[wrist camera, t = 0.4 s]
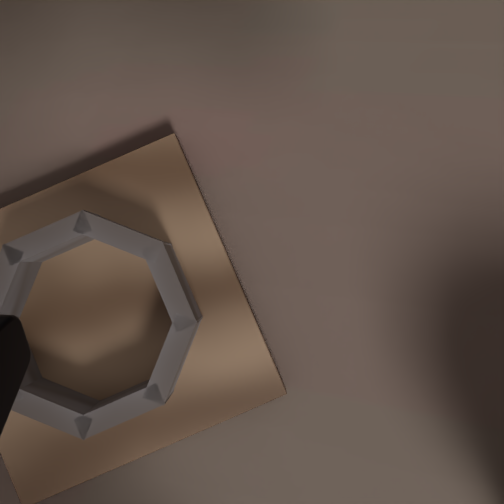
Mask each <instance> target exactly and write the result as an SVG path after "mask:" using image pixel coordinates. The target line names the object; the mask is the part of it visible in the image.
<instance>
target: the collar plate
mask: <svg viewBox="0 0 504 504" xmlns="http://www.w3.org/2000/svg"><path fill="white" fill-rule="evenodd" d="M0 314H5V315H15V316H17V317H18V318H19V319H20V320H21V323H22V325H23V328H24V331H25V334H26V337H27V340H28V343H29V346H30V350H31V359H30V363H29V366H28V369H27V371H26V374H25V376H24V379H23V381H22V384H21V386H20V389H19V391H18V394H17V396H16V399H15V401H14V404H13V406H12V409H11V411H10V414H9V416H8V419H7V421H6V424H5V426H4V429H3V432H2V434H1V436H0V453H1V455H2V458H3V460H4V463H5V465H6V468H7V470H8V473H9V475H10V478H11V480H12V483H13V485H14V488H15V490H16V493H17V495H18V498H19V500H20V503H21V504H35V503H37V502H39V501H42V500H44V499H46V498H49V497H51V496H53V495H55V494H58V493H60V492H62V491H65V490H67V489H69V488H72V487H74V486H76V485H78V484H81V483H83V482H85V481H88V480H90V479H92V478H95V477H97V476H99V475H101V474H104V473H106V472H108V471H111V470H113V469H115V468H118V467H120V466H122V465H124V464H127V463H129V462H131V461H134V460H136V459H138V458H141V457H143V456H145V455H147V454H150V453H152V452H154V451H157V450H159V449H161V448H164V447H166V446H168V445H170V444H173V443H175V442H177V441H180V440H182V439H184V438H187V437H189V436H191V435H193V434H196V433H198V432H200V431H203V430H205V429H207V428H210V427H212V426H214V425H216V424H219V423H221V422H223V421H226V420H228V419H230V418H233V417H235V416H237V415H239V414H242V413H244V412H246V411H249V410H251V409H253V408H256V407H258V406H260V405H262V404H265V403H267V402H269V401H272V400H274V399H276V398H279V397H281V396H283V395H285V394H287V392H286V388H285V386H284V383H283V381H282V379H281V376H280V374H279V372H278V369H277V367H276V365H275V362H274V360H273V358H272V356H271V353H270V351H269V349H268V346H267V344H266V342H265V339H264V337H263V335H262V332H261V330H260V328H259V325H258V323H257V321H256V319H255V316H254V314H253V312H252V309H251V307H250V305H249V302H248V300H247V298H246V295H245V293H244V291H243V288H242V286H241V284H240V282H239V279H238V277H237V275H236V272H235V270H234V268H233V265H232V263H231V261H230V258H229V256H228V254H227V251H226V249H225V247H224V245H223V242H222V240H221V238H220V235H219V233H218V231H217V228H216V226H215V224H214V221H213V219H212V217H211V214H210V212H209V210H208V208H207V205H206V203H205V201H204V198H203V196H202V194H201V191H200V189H199V187H198V184H197V182H196V180H195V177H194V175H193V173H192V171H191V168H190V166H189V164H188V161H187V159H186V157H185V154H184V152H183V150H182V147H181V145H180V143H179V141H178V138H177V137H176V135H175V134H174V133H173V134H171V135H169V136H166V137H164V138H162V139H159V140H157V141H155V142H152V143H150V144H148V145H146V146H143V147H141V148H139V149H136V150H134V151H132V152H129V153H127V154H125V155H123V156H120V157H118V158H116V159H113V160H111V161H109V162H106V163H104V164H102V165H100V166H97V167H95V168H93V169H90V170H88V171H86V172H83V173H81V174H79V175H77V176H74V177H72V178H70V179H67V180H65V181H63V182H60V183H58V184H56V185H54V186H51V187H49V188H47V189H44V190H42V191H40V192H37V193H35V194H33V195H31V196H28V197H26V198H24V199H21V200H19V201H17V202H15V203H12V204H10V205H8V206H5V207H3V208H1V209H0Z"/></svg>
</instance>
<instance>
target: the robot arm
mask: <svg viewBox="0 0 504 504" xmlns="http://www.w3.org/2000/svg"><path fill="white" fill-rule="evenodd" d="M30 359H31V350H30V346H29V343H28V340H27V337H26V334H25V331H24V328H23V325H22V323H21V320H20V319H19V318H18V317H17V316H15V315H5V314H0V436H1V434H2V432H3V429H4V426H5V424H6V421H7V419H8V416H9V414H10V411H11V409H12V406H13V404H14V401H15V399H16V396H17V394H18V391H19V389H20V386H21V384H22V381H23V379H24V376H25V374H26V371H27V369H28V366H29V363H30Z"/></svg>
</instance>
